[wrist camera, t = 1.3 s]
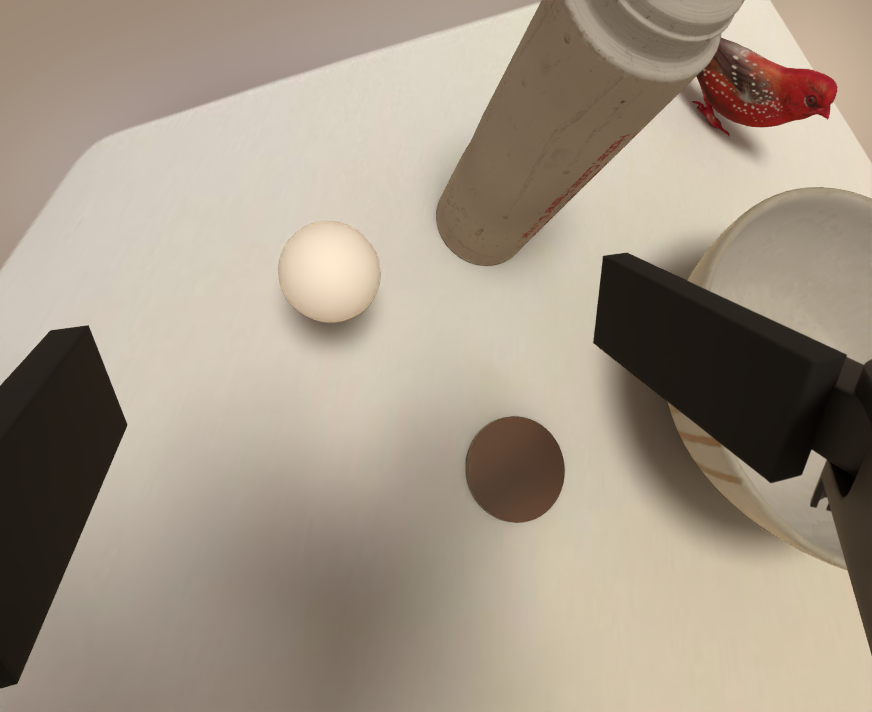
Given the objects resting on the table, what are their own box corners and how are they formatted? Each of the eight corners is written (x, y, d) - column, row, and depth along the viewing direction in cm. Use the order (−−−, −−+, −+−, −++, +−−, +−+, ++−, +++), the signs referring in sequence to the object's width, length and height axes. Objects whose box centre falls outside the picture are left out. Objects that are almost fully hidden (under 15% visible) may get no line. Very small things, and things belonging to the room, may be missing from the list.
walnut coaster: (446, 485, 39) (448, 485, 38) (498, 397, 41) (500, 396, 41) (531, 542, 40) (534, 543, 39) (577, 452, 42) (581, 452, 41)
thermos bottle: (543, 233, 45) (884, -92, 18) (476, 284, 43) (760, -7, 16) (486, 161, 45) (745, -268, 18) (416, 208, 43) (600, -209, 16)
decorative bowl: (540, 427, 42) (630, 415, 30) (676, 195, 50) (789, 115, 38) (789, 609, 44) (961, 663, 32) (881, 360, 52) (1046, 332, 40)
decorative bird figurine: (748, 175, 52) (847, 112, 43) (622, 51, 51) (694, -42, 42) (761, 158, 53) (860, 92, 44) (637, 36, 52) (711, -59, 43)
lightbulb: (338, 363, 39) (349, 328, 28) (266, 318, 38) (252, 265, 28) (380, 299, 40) (407, 243, 30) (313, 255, 40) (316, 182, 29)
